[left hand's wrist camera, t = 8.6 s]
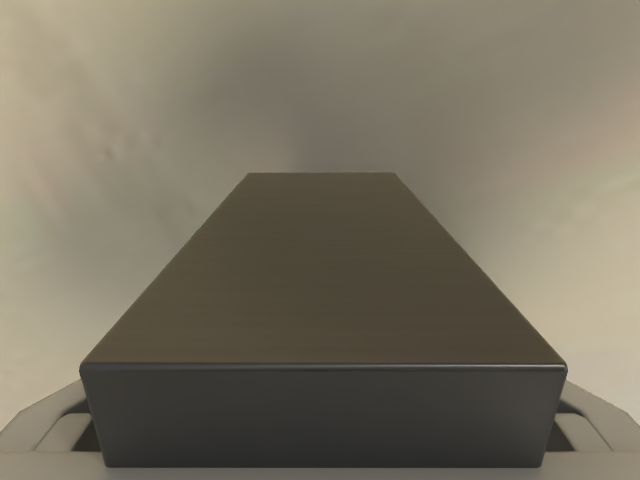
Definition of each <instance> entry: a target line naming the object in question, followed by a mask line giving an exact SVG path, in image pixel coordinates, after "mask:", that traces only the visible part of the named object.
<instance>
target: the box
mask: <svg viewBox="0 0 640 480" xmlns="http://www.w3.org/2000/svg"><path fill="white" fill-rule="evenodd" d="M567 372H568V368H567V365H566V362H565V361H564V360H563V359H562V358H561V357H560V356H559V355H558V354H557V352H556V351H555V350H554V349H553V348H552V347H551V346H550V345H549V344H548V342H547V341H546V340H545V339H544V338H543V337H542V336H541V335H540V334H539V333H538V331H537V330H536V329H535V328H534V327H533V326H532V325H531V324H530V323H529V321H528V320H527V319H526V318H525V317H524V316H523V315H522V314H521V313H520V311H519V310H518V309H517V308H516V307H515V306H514V305H513V304H512V303H511V302H510V300H509V299H508V298H507V297H506V296H505V295H504V294H503V293H502V292H501V290H500V289H499V288H498V287H497V286H496V285H495V284H494V283H493V282H492V281H491V279H490V278H489V277H488V276H487V275H486V274H485V273H484V272H483V271H482V269H481V268H480V267H479V266H478V265H477V264H476V263H475V262H474V261H473V259H472V258H471V257H470V256H469V255H468V254H467V253H466V252H465V251H464V250H463V248H462V247H461V246H460V245H459V244H458V243H457V242H456V241H455V240H454V238H453V237H452V236H451V235H450V234H449V233H448V232H447V231H446V230H445V229H444V227H443V226H442V225H441V224H440V223H439V222H438V221H437V220H436V219H435V217H434V216H433V215H432V214H431V213H430V212H429V211H428V210H427V209H426V207H425V206H424V205H423V204H422V203H421V202H420V201H419V200H418V199H417V198H416V196H415V195H414V194H413V193H412V192H411V191H410V190H409V189H408V188H407V186H406V185H405V184H404V183H403V182H402V181H401V180H400V179H399V178H398V177H397V175H396V174H395V173H248V174H247V175H246V176H245V177H244V178H243V180H242V181H241V182H240V183H239V184H238V185H237V186H236V188H235V189H234V190H233V191H232V192H231V193H230V194H229V195H228V197H227V198H226V199H225V200H224V201H223V202H222V203H221V205H220V206H219V207H218V208H217V209H216V210H215V211H214V213H213V214H212V215H211V216H210V217H209V218H208V219H207V220H206V222H205V223H204V224H203V225H202V226H201V227H200V228H199V230H198V231H197V232H196V233H195V234H194V235H193V236H192V237H191V239H190V240H189V241H188V242H187V243H186V244H185V245H184V247H183V248H182V249H181V250H180V251H179V252H178V253H177V255H176V256H175V257H174V258H173V259H172V260H171V261H170V262H169V264H168V265H167V266H166V267H165V268H164V269H163V270H162V272H161V273H160V274H159V275H158V276H157V277H156V278H155V279H154V281H153V282H152V283H151V284H150V285H149V286H148V287H147V289H146V290H145V291H144V292H143V293H142V294H141V295H140V297H139V298H138V299H137V300H136V301H135V302H134V303H133V304H132V306H131V307H130V308H129V309H128V310H127V311H126V312H125V314H124V315H123V316H122V317H121V318H120V319H119V320H118V321H117V323H116V324H115V325H114V326H113V327H112V328H111V329H110V331H109V332H108V333H107V334H106V335H105V336H104V337H103V339H102V340H101V341H100V342H99V343H98V344H97V345H96V346H95V348H94V349H93V350H92V351H91V352H90V353H89V354H88V356H87V357H86V358H85V359H84V360H83V361H82V362H81V364H80V368H79V373H80V376H81V380H82V383H83V387H84V391H85V394H86V398H87V401H88V405H89V409H90V412H91V416H92V420H93V423H94V427H95V430H96V434H97V438H98V441H99V445H100V448H101V452H102V456H103V459H104V463H105V466H106V467H109V468H538V467H541V464H542V461H543V457H544V454H545V450H546V447H547V443H548V440H549V436H550V433H551V429H552V425H553V422H554V418H555V415H556V411H557V408H558V404H559V401H560V397H561V394H562V390H563V386H564V383H565V379H566V376H567Z"/></svg>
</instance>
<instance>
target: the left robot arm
mask: <svg viewBox="0 0 640 480" xmlns="http://www.w3.org/2000/svg"><path fill="white" fill-rule="evenodd" d="M0 480H640V426H639V425H638V424H637V423H636V422H635V421H634V420H633V419H632V418H631V416H630V415H629V414H628V413H627V412H625V411H623V410H621V409H619V408H618V407H616V406H614V405H612V404H610V403H608V402H606V401H604V400H603V399H601V398H599V397H597V396H595V395H593V394H591V393H589V392H587V391H586V390H584V389H582V388H580V387H578V386H576V385H574V384H572V383H571V382H569V381H567V380H565V383H564V386H563V390H562V394H561V397H560V401H559V404H558V408H557V411H556V415H555V418H554V422H553V425H552V429H551V433H550V436H549V440H548V443H547V447H546V450H545V454H544V457H543V461H542V464H541V467H538V468H109V467H106V466H105V463H104V459H103V456H102V452H101V448H100V445H99V441H98V438H97V434H96V430H95V427H94V423H93V420H92V416H91V412H90V409H89V405H88V401H87V398H86V394H85V391H84V387H83V383H82V380H81V379H80V380H78V381H76V382H74V383H72V384H70V385H68V386H67V387H65V388H63V389H61V390H59V391H57V392H55V393H53V394H52V395H50V396H48V397H46V398H44V399H42V400H40V401H39V402H37V403H35V404H33V405H31V406H29V407H27V408H25V409H24V410H22V411H20V412H19V413H18V414H17V415H16V416H15V417H14V418H13V419H12V420H11V421H10V422H9V424H8V425H7V426H6V427H5V428H4V429H3V430H2V431H1V432H0Z"/></svg>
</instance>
